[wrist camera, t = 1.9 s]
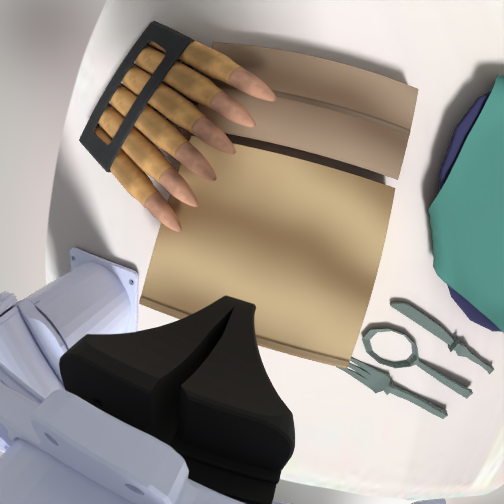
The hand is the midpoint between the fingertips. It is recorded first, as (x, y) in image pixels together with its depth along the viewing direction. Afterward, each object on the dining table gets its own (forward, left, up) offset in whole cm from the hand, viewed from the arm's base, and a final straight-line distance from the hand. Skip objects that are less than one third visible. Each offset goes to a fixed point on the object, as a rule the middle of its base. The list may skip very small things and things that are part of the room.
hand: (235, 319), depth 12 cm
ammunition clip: (+10, +14, -8) cm, 19 cm away
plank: (+1, 0, -7) cm, 7 cm away
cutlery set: (+4, -18, -10) cm, 21 cm away
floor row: (+10, 0, -9) cm, 14 cm away
